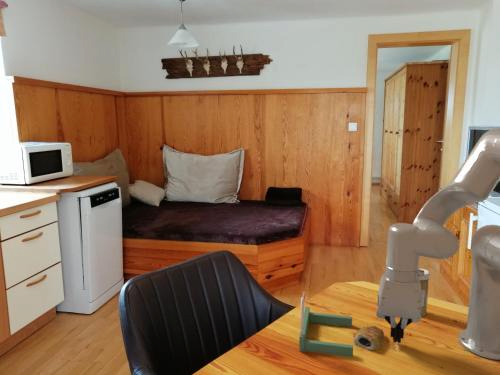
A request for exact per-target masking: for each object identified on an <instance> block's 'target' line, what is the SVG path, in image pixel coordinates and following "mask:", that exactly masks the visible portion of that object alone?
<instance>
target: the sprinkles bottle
mask: <svg viewBox="0 0 500 375" xmlns="http://www.w3.org/2000/svg"><path fill="white" fill-rule="evenodd" d="M419 269H420V270H424V276H419V277H418V278H419V279H420V284H421V316H420V317H425V316H426V315H427V314H428V312H427V308H428V298H429V294H428V293H429V280H430V271H429V270H427V269H425V268H419Z"/></svg>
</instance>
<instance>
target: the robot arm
mask: <svg viewBox="0 0 500 375" xmlns="http://www.w3.org/2000/svg"><path fill="white" fill-rule="evenodd" d="M499 182H500V128H494V129H490V130H488V131H486V132H484V133H483V134H482V135H481V137H480V138H479V139H478V141H477V142H476V144H475V145H474V146H473V148H472V149H471V151H470V153H469V154H468V156H467V157H466V158H465V160H464V162H463V163H462V165H461V166H460V168H459V169H458V170H457V172H456V174H455V175H454V177H453V178H452V180H450V182H449V183H447V184H446V185H444V186H443V187H442V188H441V189H440V190H438V191H437V192H436V193H435V194H434V195H432V196H431V197H430V198H429V199H428V200H427V201H426V202H425V203H424V204H423V206H421V209H420V210H419V212H418V214H417V215H416V217H415V218H414V220H413V222H412V223H411V224H410V223H405V222H398V223H396V222H395V223H393V224H391V225H390V226H389V228H388V232H387V242H386V243H387V244H386V246H387V247H386V257H385V258H386V261H385V273H383V274H381V277H380V281H379V286H378V293H377V304H376V305H377V310H376V312H375V315H376V317H377V318H379V319H382V320H385V321H386V322H387V323H388V324H389V325H390V331H389V332H390V335H389V336H390V338H392V340H393V343H396V344H397V343H398V344H401V342H402V339H404V333H405V329H407V328H406V327H407V326H409V325H410V324H412V323H420V322H422V319H421V317H422V316H421V284H420V279H419V278H418V277H419V276H424V270H420V269H421V268H419V266H420V264H419V263H420V257H424V258H430V259H437V260H445V259H448V258H451V257H453V256H455V255H456V254H457V253H458V251H459V249H460V241H459V238H458V237H457V235H456V234H455V233H454V232H453V231H452V230H450V229H449V228H447V227H446V226H445V225H446V223H447V221H448V220H449V219H450V218H451V217H452V216H453V215H454V214H455V213H456V212H457V211H458V210H460V209H463V208H464V207H467V206H470V205H474V204H478V203H481V202H483V201H486V200H487V199H489V197H490V195H491V194H492V192H493V191H494V189H495V188H496V186H497V185H498V183H499ZM470 255H471V279H470V280H471V281H470V283H471V284H470V292H469V300H468V301H469V302H468V311H467V313H468V314H467V321H466V329H463V330H462V331H460V332H459V335H458V341H459V343H460V344H461V346H463V348H465V349H466V350H467V351H469V352H471V353H473V354H475V355H477V356H479V357H482V358H486V359H489V360H498V361H500V225H498V224H487V225H484V226H481V227H480V228H478V229H477V230H476V231H475V232H474V233H473V235H472V237H471V242H470ZM396 318H399V321H398V322H397V321H396Z"/></svg>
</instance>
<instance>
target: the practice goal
mask: <svg viewBox="0 0 500 375" xmlns="http://www.w3.org/2000/svg"><path fill="white" fill-rule="evenodd" d="M301 296H302V297H301V298H300V332H299V337H298V338H299V339H298V340H299V341H298V342H299V343H298V344H299V346H298V348H299V349H298V350H299V352H308V353H309V352H310V353H318V354H326V355H334V356H339V357H340V356H341V357H349V358H350V357H351V358H353V357H354V345H353V344H345V343H339V342H328V341H323V340H322V341H321V340H311V339H307V338H308V337H307V335H308V331H309V324H310V323H312V324H321V325H331V326H339V327H349V328H352V327H353V316H349V315H348V316H347V315H339V314H338V315H337V314H331V313H323V312H322V313H320V312H311V309H310V306H305V299H306V297H305V296H306V291H303V293H302V295H301Z"/></svg>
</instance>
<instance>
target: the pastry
mask: <svg viewBox="0 0 500 375" xmlns="http://www.w3.org/2000/svg"><path fill="white" fill-rule="evenodd" d="M384 335H385V333H384V330H383V329H381V328H380V327H377V326H375V325H370V326H369V325H368V326H364V327H361V328H360V329H359V330H357V331H356V333H355V335H354V336H355V337H354V338H353V340H352V341H353V342H354V344H355V345H357V347H360V348H363V349H367V350H369V351H377V350H379V349H381V347H382V345H383V343H384V340H385V336H384Z"/></svg>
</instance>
